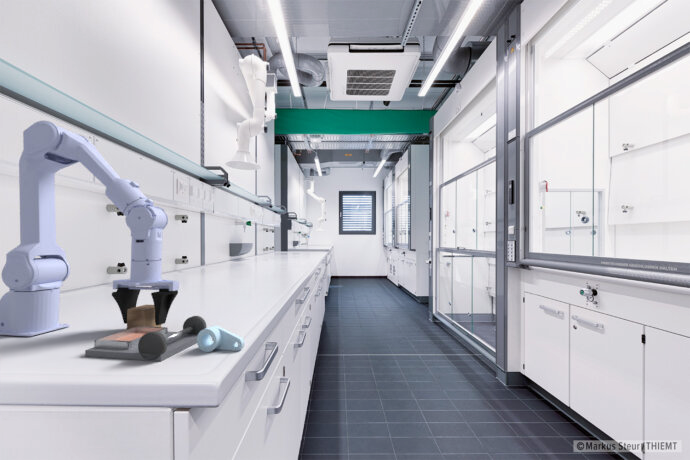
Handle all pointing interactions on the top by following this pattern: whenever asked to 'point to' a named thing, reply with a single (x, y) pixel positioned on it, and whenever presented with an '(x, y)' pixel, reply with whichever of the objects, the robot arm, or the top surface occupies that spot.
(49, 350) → the top surface
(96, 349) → the chassis
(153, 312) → the block
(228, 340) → the mechanical part
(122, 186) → the robot arm
